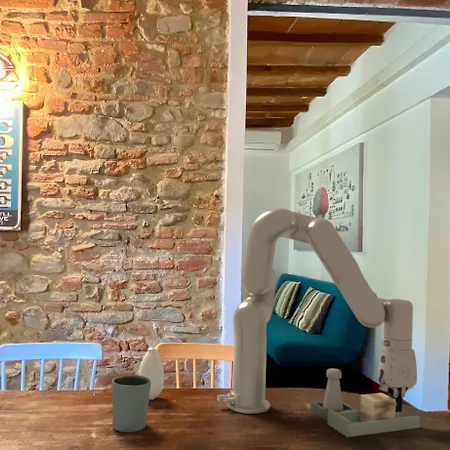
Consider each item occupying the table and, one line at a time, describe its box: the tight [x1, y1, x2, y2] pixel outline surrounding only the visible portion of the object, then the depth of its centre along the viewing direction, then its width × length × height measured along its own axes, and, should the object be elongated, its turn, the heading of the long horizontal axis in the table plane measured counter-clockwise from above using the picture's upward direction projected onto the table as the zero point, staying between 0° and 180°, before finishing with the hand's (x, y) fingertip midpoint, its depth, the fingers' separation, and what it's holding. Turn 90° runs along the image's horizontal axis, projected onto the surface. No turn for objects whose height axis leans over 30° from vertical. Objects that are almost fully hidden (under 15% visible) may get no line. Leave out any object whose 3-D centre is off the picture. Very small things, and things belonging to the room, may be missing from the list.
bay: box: [327, 409, 421, 438], centre depth 142 cm, size 23×9×4 cm, turn 111°
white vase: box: [137, 339, 165, 401], centre depth 159 cm, size 8×8×18 cm
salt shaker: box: [323, 368, 343, 411], centre depth 150 cm, size 6×6×13 cm
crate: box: [358, 392, 397, 422], centre depth 142 cm, size 7×7×7 cm
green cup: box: [111, 374, 151, 433], centre depth 137 cm, size 10×10×12 cm
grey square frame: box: [310, 400, 358, 422], centre depth 150 cm, size 10×10×2 cm
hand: (395, 410), depth 145 cm, fingers closed
